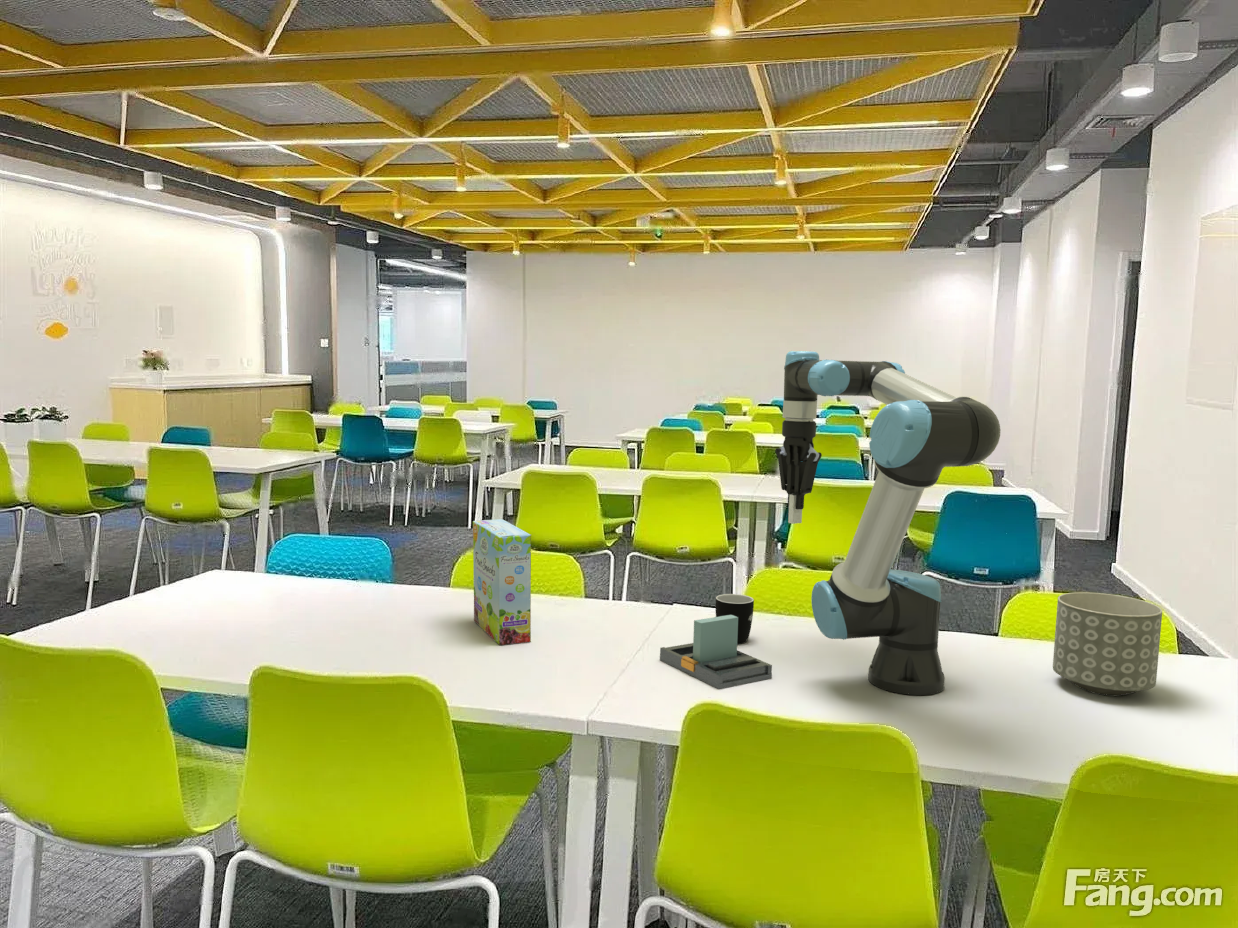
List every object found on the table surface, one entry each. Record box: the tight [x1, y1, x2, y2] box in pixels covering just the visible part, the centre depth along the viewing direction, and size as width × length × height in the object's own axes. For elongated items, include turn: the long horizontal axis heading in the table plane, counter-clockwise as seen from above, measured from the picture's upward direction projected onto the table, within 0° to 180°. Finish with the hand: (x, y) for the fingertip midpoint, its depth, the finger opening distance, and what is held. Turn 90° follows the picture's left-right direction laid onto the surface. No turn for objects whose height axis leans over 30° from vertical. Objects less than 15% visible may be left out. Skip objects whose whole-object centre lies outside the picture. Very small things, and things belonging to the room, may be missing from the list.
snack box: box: [472, 518, 532, 646], centre depth 222 cm, size 22×9×26 cm, turn 25°
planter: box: [1052, 591, 1163, 697], centre depth 192 cm, size 19×19×18 cm
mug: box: [715, 593, 755, 645], centre depth 222 cm, size 12×9×10 cm
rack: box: [659, 642, 773, 690], centre depth 199 cm, size 21×14×4 cm
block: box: [692, 615, 738, 663], centre depth 199 cm, size 2×10×10 cm, turn 122°
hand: (794, 522), depth 213 cm, fingers closed
